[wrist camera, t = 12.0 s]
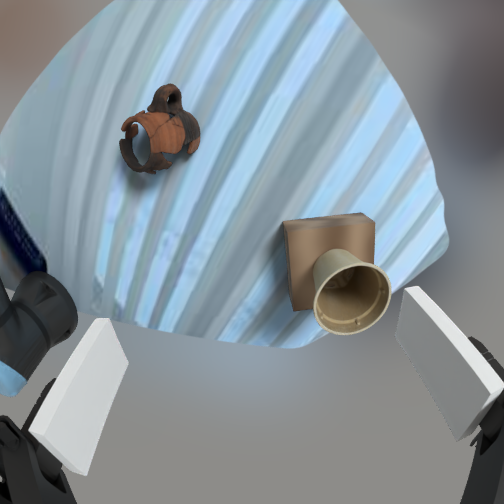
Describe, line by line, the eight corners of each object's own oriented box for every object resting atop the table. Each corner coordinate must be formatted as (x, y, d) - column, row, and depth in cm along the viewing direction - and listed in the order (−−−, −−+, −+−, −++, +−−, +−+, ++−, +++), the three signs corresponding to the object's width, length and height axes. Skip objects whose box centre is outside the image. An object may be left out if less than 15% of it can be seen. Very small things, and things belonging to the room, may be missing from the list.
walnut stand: (289, 293, 45) (293, 311, 40) (282, 221, 41) (287, 232, 36) (360, 283, 45) (371, 299, 40) (361, 212, 40) (375, 222, 35)
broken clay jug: (200, 171, 38) (158, 188, 32) (154, 153, 41) (112, 167, 35) (214, 86, 31) (167, 88, 25) (162, 79, 34) (116, 82, 28)
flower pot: (294, 245, 37) (307, 275, 29) (362, 228, 36) (391, 254, 28) (306, 304, 40) (318, 343, 32) (367, 288, 39) (390, 322, 31)
